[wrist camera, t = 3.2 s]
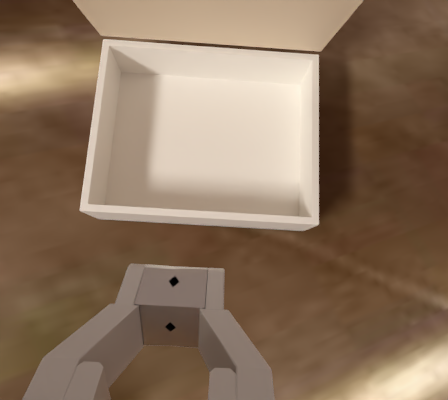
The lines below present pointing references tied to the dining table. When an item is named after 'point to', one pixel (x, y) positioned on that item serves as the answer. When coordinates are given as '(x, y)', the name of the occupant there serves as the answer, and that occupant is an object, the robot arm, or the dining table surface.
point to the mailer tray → (204, 137)
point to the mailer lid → (223, 21)
